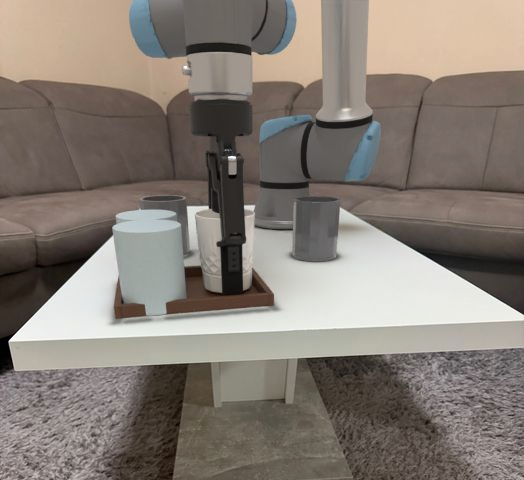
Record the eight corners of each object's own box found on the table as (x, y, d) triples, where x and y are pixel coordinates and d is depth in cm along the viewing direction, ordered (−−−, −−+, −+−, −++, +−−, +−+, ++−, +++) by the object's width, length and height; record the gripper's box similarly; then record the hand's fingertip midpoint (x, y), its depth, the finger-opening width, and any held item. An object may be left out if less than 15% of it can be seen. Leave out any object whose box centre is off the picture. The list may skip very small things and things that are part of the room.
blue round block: (179, 275, 70) (174, 208, 66) (184, 292, 63) (178, 218, 59) (126, 279, 68) (116, 210, 64) (124, 296, 61) (113, 220, 57)
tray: (248, 275, 72) (248, 262, 71) (274, 309, 59) (274, 293, 58) (121, 284, 68) (119, 270, 67) (116, 323, 55) (113, 306, 54)
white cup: (248, 297, 60) (247, 219, 56) (191, 293, 62) (186, 217, 57) (260, 279, 67) (260, 208, 63) (209, 275, 68) (205, 207, 64)
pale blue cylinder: (184, 292, 63) (178, 218, 59) (189, 312, 56) (183, 230, 52) (124, 296, 61) (113, 220, 57) (122, 318, 54) (110, 233, 50)
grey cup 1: (187, 248, 88) (184, 194, 84) (192, 258, 81) (188, 200, 77) (145, 250, 87) (139, 195, 82) (146, 261, 80) (139, 202, 75)
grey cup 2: (326, 249, 88) (330, 195, 83) (343, 260, 81) (347, 201, 76) (287, 251, 86) (288, 196, 82) (300, 262, 79) (302, 203, 75)
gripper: (181, 102, 62) (193, 266, 72) (198, 93, 44) (210, 312, 54) (235, 103, 64) (239, 263, 74) (273, 94, 46) (271, 307, 56)
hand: (227, 284), depth 64 cm, fingers closed on white cup, 8 cm apart
